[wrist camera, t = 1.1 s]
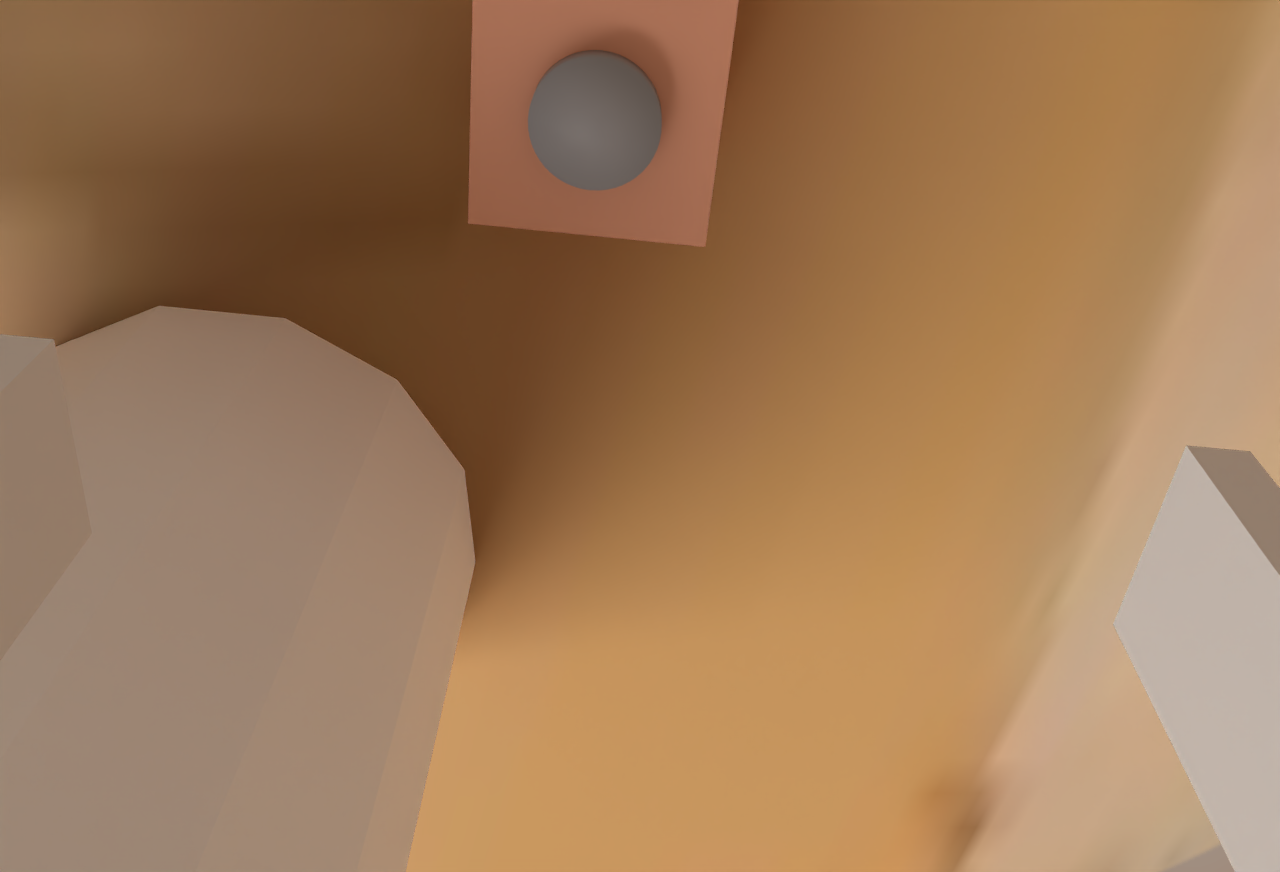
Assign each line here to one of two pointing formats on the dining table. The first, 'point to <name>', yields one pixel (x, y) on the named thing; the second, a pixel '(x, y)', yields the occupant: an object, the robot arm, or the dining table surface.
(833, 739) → the dining table surface
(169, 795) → the container
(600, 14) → the joint block
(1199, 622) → the robot arm
